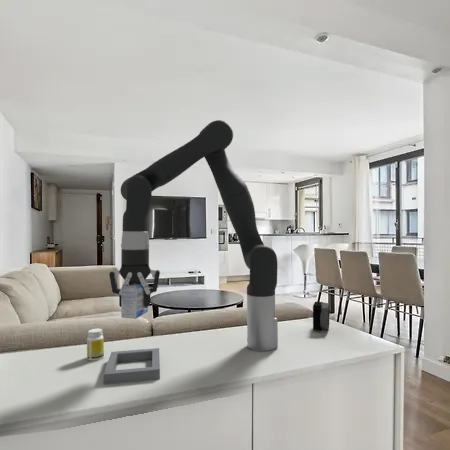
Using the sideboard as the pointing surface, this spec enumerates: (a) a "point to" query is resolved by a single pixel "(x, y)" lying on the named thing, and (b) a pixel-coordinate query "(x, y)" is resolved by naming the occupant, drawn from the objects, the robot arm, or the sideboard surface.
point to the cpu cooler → (321, 316)
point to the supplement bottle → (95, 345)
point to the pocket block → (137, 373)
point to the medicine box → (133, 301)
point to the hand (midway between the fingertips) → (134, 307)
